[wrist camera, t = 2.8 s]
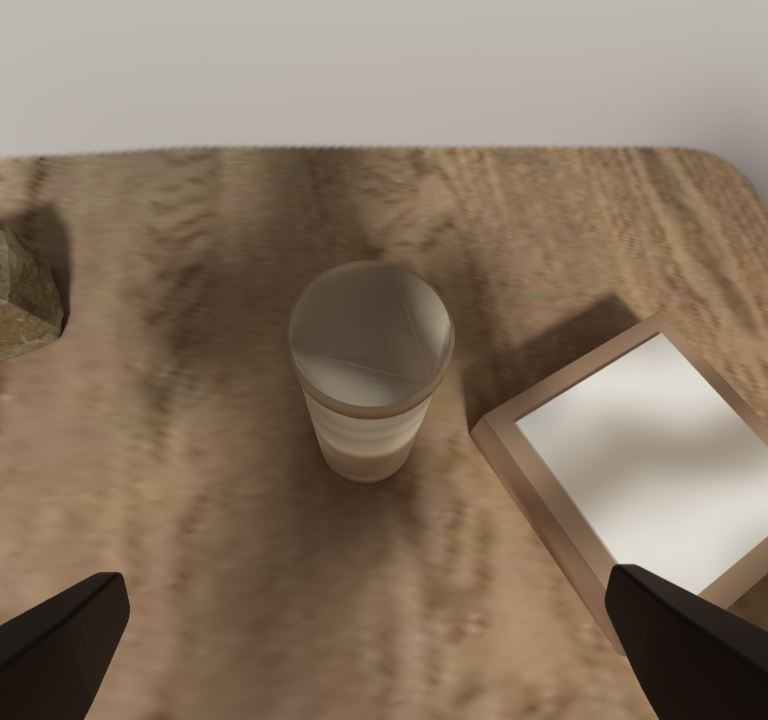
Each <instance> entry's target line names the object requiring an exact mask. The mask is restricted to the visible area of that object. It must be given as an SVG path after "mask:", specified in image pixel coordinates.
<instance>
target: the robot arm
mask: <svg viewBox="0 0 768 720" xmlns="http://www.w3.org/2000/svg"><path fill="white" fill-rule="evenodd" d="M605 608H606V612H607V614H608V616H609V619H610V621H611V623H612V625H613V627H614V630H615V632H616V634H617V636H618V638H619V640H620V643H621V645H622V647H623V649H624V651H625V654H626V656H627V658H628V660H629V662H630V665H631V667H632V669H633V671H634V673H635V675H636V678H637V680H638V682H639V684H640V686H641V688H642V690H643V692H644V693H645V695H646V697H647V699H648V701H649V702H650V704H651V706H652V708H653V709H654V711H655V713H656V715H657V716H658V718H659V720H768V632H767V631H766V630H764V629H762V628H760V627H758V626H756V625H754V624H752V623H750V622H748V621H746V620H744V619H742V618H740V617H738V616H736V615H734V614H732V613H730V612H728V611H726V610H724V609H723V608H721V607H719V606H717V605H715V604H713V603H711V602H709V601H707V600H705V599H703V598H701V597H699V596H697V595H695V594H693V593H691V592H689V591H687V590H685V589H683V588H682V587H680V586H678V585H676V584H674V583H672V582H670V581H668V580H666V579H664V578H662V577H660V576H658V575H656V574H654V573H652V572H650V571H648V570H646V569H644V568H642V567H640V566H639V565H636V564H616V565H614V566H613V567H612V569H611V572H610V576H609V580H608V584H607V589H606V593H605ZM129 614H130V604H129V599H128V595H127V590H126V586H125V581H124V578H123V575H122V574H121V573H119V572H99V573H96V574H94V575H92V576H90V577H88V578H86V579H85V580H83V581H81V582H79V583H77V584H75V585H74V586H72V587H70V588H68V589H66V590H64V591H63V592H61V593H59V594H57V595H55V596H53V597H52V598H50V599H48V600H46V601H44V602H43V603H41V604H39V605H37V606H35V607H33V608H32V609H30V610H28V611H26V612H24V613H22V614H21V615H19V616H17V617H15V618H13V619H11V620H10V621H8V622H6V623H4V624H2V625H0V720H84V718H85V716H86V715H87V713H88V711H89V709H90V707H91V705H92V703H93V701H94V698H95V696H96V694H97V692H98V690H99V687H100V685H101V683H102V681H103V678H104V676H105V674H106V671H107V669H108V667H109V664H110V662H111V660H112V657H113V655H114V653H115V650H116V648H117V646H118V644H119V641H120V639H121V637H122V634H123V632H124V630H125V627H126V625H127V622H128V619H129Z"/></svg>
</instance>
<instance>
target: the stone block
mask: <svg viewBox="0 0 768 720" xmlns="http://www.w3.org/2000/svg"><path fill="white" fill-rule="evenodd" d="M63 316H64V309H63V307H62V304H61V301H60V293H59V290H58V288H57V287H56V285H55V283H54V280H53V277H52V274H51V266H50V264H49V263H48V261H47V260H46V259H45V258H43V257H42V256H41V255H40V254H39V253H38V251H37V250H36V249H35V248H34V247H33V246H31V245H30V244H29V243H28V242H26V241H25V240H23V239H22V238H20V237H19V236H18V235H17V234H15V233H14V232H13V231H12V230H11V229H9V228H8V227H7V226H5V225H4V224H2V223H1V222H0V361H1V360H5V359H9V358H12V357H15V356H18V355H21V354H24V353H26V352H29V351H31V350H34V349H36V348H38V347H41V346H43V345H45V344H47V343H49V342H51V341H54V340H56V339H58V338H59V336H60V333H61V322H62V319H63Z"/></svg>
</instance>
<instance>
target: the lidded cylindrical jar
mask: <svg viewBox="0 0 768 720" xmlns="http://www.w3.org/2000/svg"><path fill="white" fill-rule="evenodd" d="M285 342H286V349H287V352H288V356H289V359H290V362H291V365H292V368H293V371H294V373H295V375H296V378H297V380H298V381H299V383H300V384H301V386H302V389H303V393H304V396H305V399H306V402H307V406H308V409H309V412H310V416H311V419H312V422H313V426H314V429H315V432H316V436H317V439H318V442H319V445H320V449H321V452H322V455H323V457H324V459H325V461H326V462H327V464H328V465H329V467H330V468H331V469H332V470H333V471H334V472H335V473H336V474H338V475H339V476H341V477H343V478H345V479H347V480H349V481H352V482H356V483H375V482H379V481H382V480H385V479H387V478H389V477H390V476H392V475H393V474H395V473H396V472H397V471H398V470H399V469H400V468H401V467H402V466H403V465H404V463H405V461H406V460H407V458H408V456H409V453H410V451H411V448H412V446H413V443H414V441H415V438H416V436H417V433H418V431H419V428H420V426H421V423H422V421H423V418H424V416H425V413H426V411H427V408H428V406H429V403H430V401H431V398H432V396H433V393H434V391H435V390H436V388H437V387H438V385H439V384H440V382H441V381H442V379H443V377H444V374H445V372H446V370H447V368H448V365H449V363H450V360H451V357H452V354H453V350H454V344H455V328H454V322H453V318H452V315H451V312H450V310H449V308H448V306H447V303H446V302H445V300H444V299H443V297H442V296H441V294H440V293H439V292H438V291H437V289H436V288H435V287H434V286H433V285H432V284H431V283H429V282H428V281H427V280H426V279H425V278H423V277H422V276H420V275H419V274H417V273H415V272H414V271H412V270H410V269H408V268H405V267H403V266H400V265H397V264H393V263H389V262H384V261H374V260H363V261H354V262H348V263H345V264H341V265H338V266H335V267H333V268H330V269H328V270H326V271H324V272H322V273H321V274H319V275H318V276H316V277H315V278H313V279H312V280H311V281H310V282H309V283H308V284H307V285H306V286H305V287H304V288H303V289H302V290H301V291H300V292H299V294H298V295H297V297H296V298H295V300H294V301H293V304H292V306H291V308H290V310H289V313H288V316H287V320H286V326H285Z"/></svg>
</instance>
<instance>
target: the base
mask: <svg viewBox="0 0 768 720" xmlns="http://www.w3.org/2000/svg"><path fill="white" fill-rule="evenodd" d="M469 435H470V437H471V438H472V440H473V441H474V443H475V444H476V446H477V447H478V448H479V450H480V451H481V453H482V454H483V456H484V457H485V459H486V460H487V462H488V463H489V465H490V466H491V468H492V469H493V470H494V472H495V473H496V475H497V476H498V478H499V479H500V481H501V482H502V484H503V485H504V487H505V488H506V490H507V491H508V492H509V494H510V495H511V497H512V498H513V500H514V501H515V503H516V504H517V506H518V507H519V509H520V510H521V512H522V513H523V514H524V516H525V517H526V519H527V520H528V522H529V523H530V525H531V526H532V528H533V529H534V531H535V532H536V534H537V535H538V536H539V538H540V539H541V541H542V542H543V544H544V545H545V547H546V548H547V550H548V551H549V553H550V554H551V556H552V557H553V559H554V560H555V561H556V563H557V564H558V566H559V567H560V569H561V570H562V572H563V573H564V575H565V576H566V578H567V579H568V581H569V582H570V583H571V585H572V586H573V588H574V589H575V591H576V592H577V594H578V595H579V597H580V598H581V600H582V601H583V603H584V604H585V605H586V607H587V608H588V610H589V611H590V613H591V614H592V616H593V617H594V619H595V620H596V622H597V623H598V625H599V626H600V627H601V629H602V630H603V632H604V633H605V635H606V636H607V638H608V639H609V641H610V642H611V644H612V645H613V647H614V648H615V649H616V651H617V652H618V654H620V655H623V656H626V654H625V651H624V649H623V647H622V645H621V643H620V640H619V638H618V636H617V634H616V632H615V630H614V627H613V625H612V623H611V621H610V619H609V616H608V614H607V612H606V608H605V593H606V589H607V584H608V580H609V576H610V572H611V569H612V567H613V566H614V565H616V564H636V565H639V566H640V567H642V568H644V569H646V570H648V571H650V572H652V573H654V574H656V575H658V576H660V577H662V578H664V579H666V580H668V581H670V582H672V583H674V584H676V585H678V586H680V587H682V588H683V589H685V590H687V591H689V592H691V593H693V594H695V595H697V596H699V597H701V598H703V599H705V600H707V601H709V602H711V603H713V604H715V605H717V606H719V607H721V608H723V609H724V610H726V609H727V608H728V607H729V606H730V605H732V604H733V603H734V602H735V601H736V600H737V599H739V598H740V597H741V596H742V595H743V594H744V593H745V592H747V591H748V590H749V589H750V588H751V587H752V586H754V585H755V584H756V583H757V582H758V581H759V580H760V579H762V578H763V577H764V576H765V575H766V574H767V573H768V425H767V424H766V423H765V422H764V421H763V420H762V419H761V418H760V417H759V416H758V415H757V414H756V412H755V411H754V410H753V409H752V408H751V407H750V406H749V405H748V404H747V403H746V402H745V401H744V400H743V399H742V398H741V397H740V396H739V395H738V393H737V392H736V391H735V390H734V389H733V388H732V387H731V386H730V385H729V384H728V383H727V382H726V381H725V380H724V379H723V378H722V377H721V375H720V374H719V373H718V372H717V371H716V370H715V369H714V368H713V367H712V366H711V365H710V364H709V363H708V362H707V361H706V360H705V359H704V358H703V356H702V355H701V354H700V353H699V352H698V351H697V350H696V349H695V348H694V347H693V346H692V345H691V344H690V343H689V342H688V341H687V340H686V338H685V337H684V336H683V335H682V334H681V333H680V332H679V331H678V330H677V329H676V328H675V327H674V326H673V325H672V324H671V323H670V322H669V320H668V319H667V318H666V317H665V316H664V315H663V314H662V313H661V312H660V311H658V312H656V313H655V314H653V315H651V316H649V317H648V318H646V319H644V320H643V321H641V322H639V323H638V324H636V325H634V326H633V327H631V328H629V329H628V330H626V331H624V332H623V333H621V334H619V335H618V336H616V337H614V338H612V339H611V340H609V341H607V342H606V343H604V344H602V345H601V346H599V347H597V348H596V349H594V350H592V351H591V352H589V353H587V354H586V355H584V356H582V357H581V358H579V359H577V360H575V361H574V362H572V363H570V364H569V365H567V366H565V367H564V368H562V369H560V370H559V371H557V372H555V373H554V374H552V375H550V376H549V377H547V378H545V379H544V380H542V381H540V382H539V383H537V384H535V385H533V386H532V387H530V388H528V389H527V390H525V391H523V392H522V393H520V394H518V395H517V396H515V397H513V398H512V399H510V400H508V401H507V402H505V403H503V404H502V405H500V406H498V407H496V408H495V409H493V410H491V411H490V412H488V413H486V414H485V415H483V416H482V418H481V419H480V420H479V422H478V423H477V424H476V425H475V427H474V428H473V429H472V431H471V432H470V433H469ZM626 657H627V656H626Z"/></svg>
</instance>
